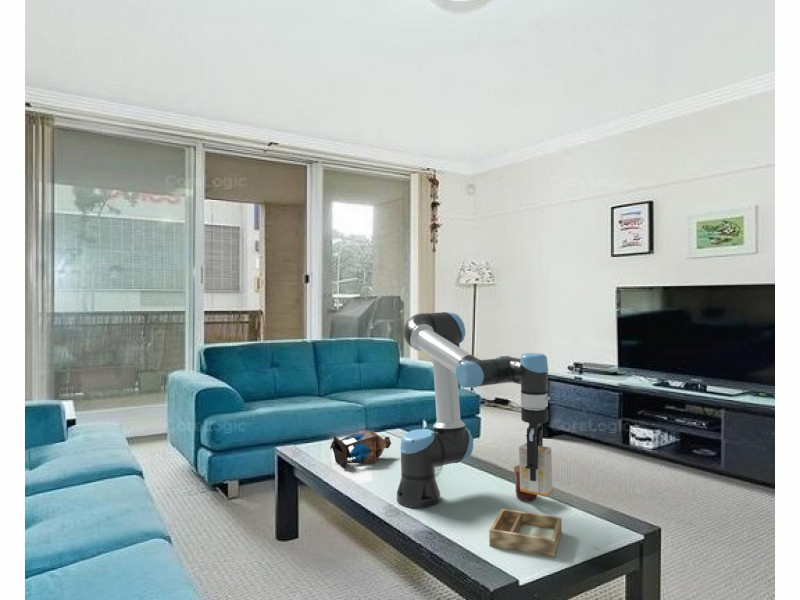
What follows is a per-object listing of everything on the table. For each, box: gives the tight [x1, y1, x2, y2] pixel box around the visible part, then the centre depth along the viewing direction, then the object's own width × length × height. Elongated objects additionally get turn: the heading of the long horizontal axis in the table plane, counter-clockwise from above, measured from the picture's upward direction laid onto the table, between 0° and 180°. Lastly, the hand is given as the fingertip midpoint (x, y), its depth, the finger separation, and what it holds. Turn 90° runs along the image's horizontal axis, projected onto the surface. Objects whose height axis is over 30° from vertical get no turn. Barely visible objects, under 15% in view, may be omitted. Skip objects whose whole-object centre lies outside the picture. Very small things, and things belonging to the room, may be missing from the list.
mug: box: [513, 464, 538, 502], centre depth 185 cm, size 12×9×10 cm
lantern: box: [329, 428, 392, 470], centre depth 230 cm, size 16×16×25 cm
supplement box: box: [518, 442, 553, 498], centre depth 155 cm, size 8×5×13 cm, turn 51°
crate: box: [488, 508, 563, 558], centre depth 157 cm, size 18×16×4 cm
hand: (535, 487), depth 155 cm, fingers closed on supplement box, 6 cm apart
